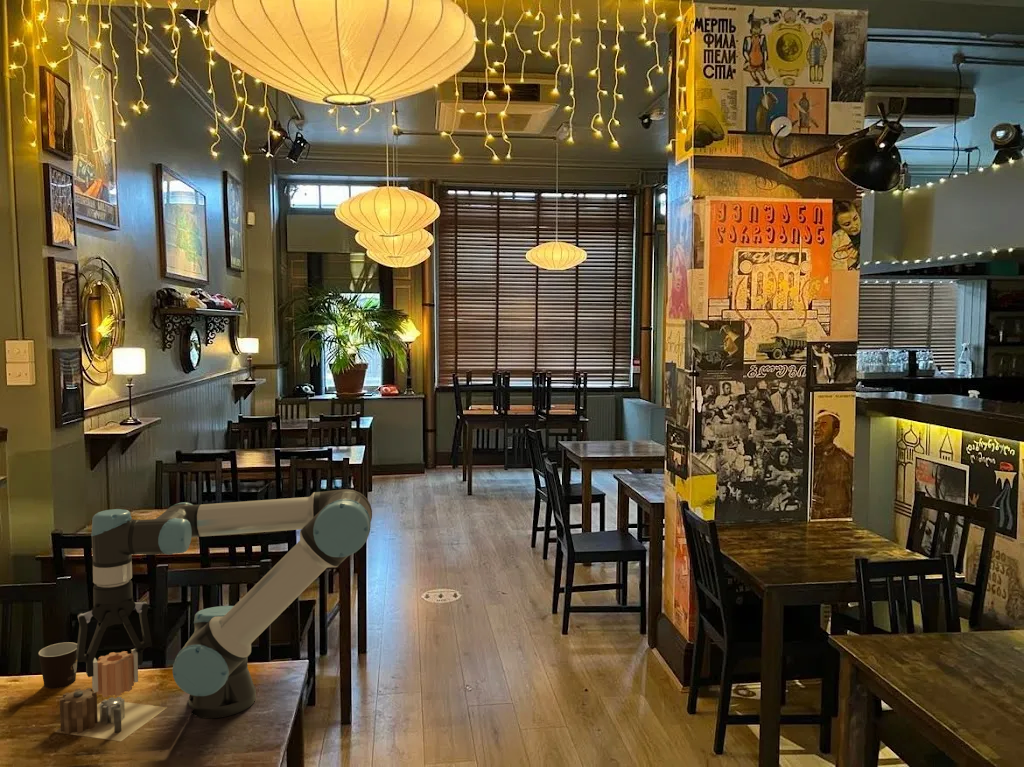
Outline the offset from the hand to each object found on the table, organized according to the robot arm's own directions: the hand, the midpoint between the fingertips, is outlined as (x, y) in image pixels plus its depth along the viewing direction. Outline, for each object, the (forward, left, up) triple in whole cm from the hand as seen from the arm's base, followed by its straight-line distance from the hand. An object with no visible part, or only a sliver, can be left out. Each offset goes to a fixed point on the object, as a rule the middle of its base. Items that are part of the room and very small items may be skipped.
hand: (115, 684), depth 165 cm
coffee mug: (+31, -18, -12) cm, 38 cm away
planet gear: (0, 0, -1) cm, 1 cm away
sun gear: (+5, -4, -11) cm, 12 cm away
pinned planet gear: (+10, 0, -11) cm, 14 cm away
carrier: (+5, -4, -12) cm, 14 cm away
